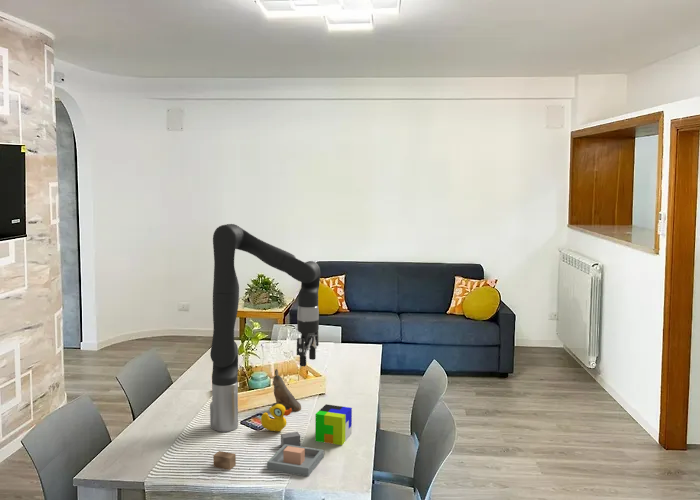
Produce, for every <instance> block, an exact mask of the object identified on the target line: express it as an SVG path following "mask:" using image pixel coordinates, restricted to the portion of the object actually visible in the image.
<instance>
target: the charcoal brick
mask: <svg viewBox="0 0 700 500" xmlns="http://www.w3.org/2000/svg"><path fill="white" fill-rule="evenodd" d="M284 444H288V445H294V446H301V434H300V433H299V432H298V431H293V432H285V433H280V446H281V447H282V446H283V445H284Z"/></svg>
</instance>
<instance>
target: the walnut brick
mask: <svg viewBox="0 0 700 500" xmlns="http://www.w3.org/2000/svg"><path fill="white" fill-rule="evenodd" d="M212 457H213V467H214V468H218V469H223V470H228V471H231V470H232V469H233V468H234V467H236V465H237V462H236V461H237V459H236V453H233V452H227V451H222V450H218V451H217V452H216V453H215V454H213V456H212Z"/></svg>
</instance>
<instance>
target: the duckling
mask: <svg viewBox="0 0 700 500" xmlns="http://www.w3.org/2000/svg"><path fill="white" fill-rule="evenodd" d="M268 410H269V413H270V415H269V413H268V412H263V414H261V417H260V422H261V425H262V427H263V428H264V429H265V430H268V431H270V432H280V431H282V430H284V429H285V427H286V426H287V419H286V418H285V417H288V416H290V415H291V414H292V409H291V408H290V409H289V410H286V409H285V407H284V406H283V405H281V404H276V405H274V406H273V407H269V409H268ZM270 416H271V417H273V418H270Z"/></svg>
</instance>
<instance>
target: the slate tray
mask: <svg viewBox="0 0 700 500" xmlns="http://www.w3.org/2000/svg"><path fill="white" fill-rule="evenodd" d="M287 446H291V447H298V448H304V449H305V461H304V462H303V463H302V464H301V465H298V464H292V463H285V462H283V450H284V449H285V448H286V447H287ZM324 452H325V450H324V449H321V448H314V447H308V446H307V447H306V446H301V445H300V446H294V445H288V444H284V445H283V446H281V447H280V448H279V449H278V450H277V452H276V453H274V454H273V455H272V457H271V458H270V459H268V460H267V462H266V464H267V465H266V470H267V471H274V472H279V473H286V474H292V475H299V476H304V477H309V476H310V475H311V474H312V473H313V471H315V469H316V468H317V466H318V465H319V464H320V462H321V461H322V460H323V459H324V455H325V453H324Z"/></svg>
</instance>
